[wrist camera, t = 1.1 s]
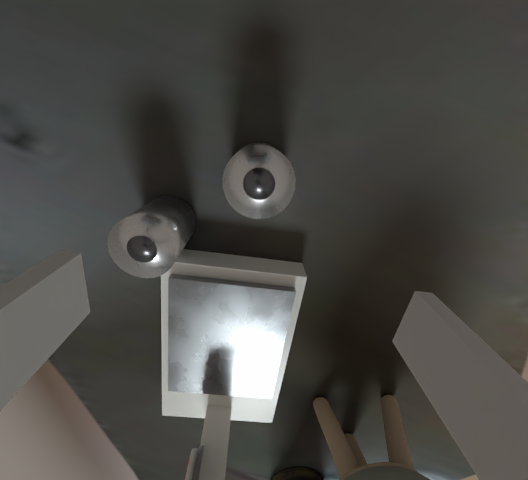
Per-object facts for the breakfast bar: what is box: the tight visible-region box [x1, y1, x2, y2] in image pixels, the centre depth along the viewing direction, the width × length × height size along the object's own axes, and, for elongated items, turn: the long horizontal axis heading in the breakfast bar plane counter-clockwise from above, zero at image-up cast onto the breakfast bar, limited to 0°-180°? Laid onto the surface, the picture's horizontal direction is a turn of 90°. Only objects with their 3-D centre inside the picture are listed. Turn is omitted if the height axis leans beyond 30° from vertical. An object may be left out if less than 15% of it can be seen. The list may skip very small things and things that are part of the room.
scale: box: [161, 249, 307, 480], centre depth 25 cm, size 24×14×14 cm, turn 172°
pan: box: [168, 274, 296, 399], centre depth 27 cm, size 15×12×1 cm
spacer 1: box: [107, 195, 196, 278], centre depth 22 cm, size 5×5×7 cm
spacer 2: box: [222, 142, 296, 219], centre depth 21 cm, size 5×5×7 cm
